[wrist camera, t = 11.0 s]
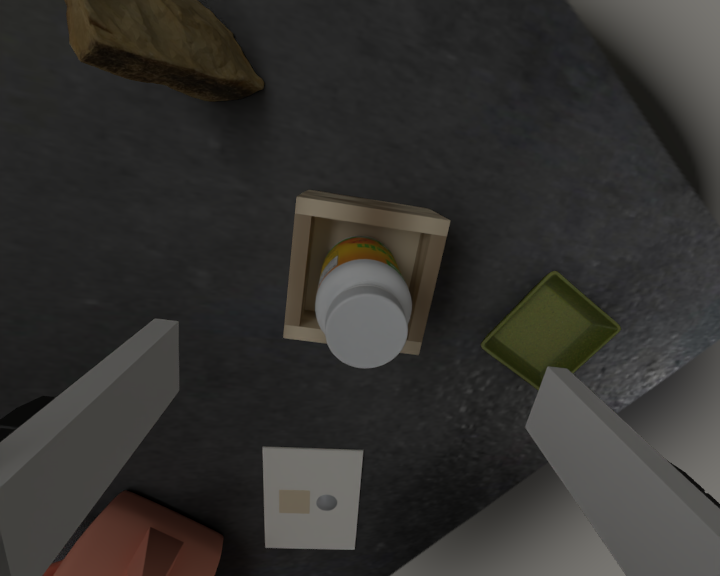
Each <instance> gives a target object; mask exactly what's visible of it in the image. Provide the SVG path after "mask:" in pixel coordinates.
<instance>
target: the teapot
mask: <svg viewBox="0 0 720 576" xmlns="http://www.w3.org/2000/svg"><path fill="white" fill-rule="evenodd" d="M223 539H224V537H223V535H221V534H220V533H218V532H216V531H214V530H212V529H210V528H208V527H206V526H204V525H202V524H200V523H198V522H196V521H194V520H192V519H190V518H187V517H185V516H183V515H181V514H179V513H177V512H175V511H173V510H171V509H168V508H166V507H164V506H162V505H160V504H157V503H155V502H153V501H151V500H149V499H146V498H144V497H142V496H139V495H137V494H135V493H132V492H130V491H123V492H121V493H120V494H119V495H118V496H117V497H115V498H114V499H113V500H112V501H111V502H110V503H109V505H108V506H107V507H106V508H105V509H104V510H103V511H102V512H101V513H100V514H99V515H98V516H97V518H96V519H95V520H94V521H93V522H92V523H91V525H90V526H89V527H88V528H87V529H86V531H85V532H84V533H83V534H82V535H81V537H80V538H79V539H78V540H77V542H76V543H75V544H74V546H73V547H72V549H71V550H70V551H69V553H68V554H67V555H66V557H65V558H64V560H61V561H58V562H55V563H52V564H51V565H50V566H49V567H48V569H47V570H46V571H45V573H44V574H43V575H42V576H214V575H215V573H216V570H217V567H218V564H219V561H220V557H221V552H222V547H223Z"/></svg>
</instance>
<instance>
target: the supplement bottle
mask: <svg viewBox="0 0 720 576" xmlns="http://www.w3.org/2000/svg"><path fill="white" fill-rule="evenodd" d="M411 311H412V300H411V295H410V292H409V289H408V286H407V284H406V282H405V280H404V278H403V276H402V274H401V272H400V270H399V267H398V265H397V263H396V261H395V258H394V256H393V255H392V253H391V252H390V250H389V249H388V248H387V247H386V246H385V245H384V244H383V243H382V242H380V241H378V240H377V239H374V238H372V237H368V236H352V237H348V238H345V239H343V240H341V241H339V242H338V243H337V244H335V245H334V246H333V247H332V248H331V249H330V251H329V252H328V253H327V255H326V257H325V259H324V262H323V266H322V270H321V275H320V280H319V285H318V290H317V295H316V302H315V313H316V318H317V321H318V324H319V326H320V328H321V330H322V331H323V333H324V334H325V337H326V341H327V344H328V346H329V348H330V350H331V352H332V353H333V354H334V355H335V356H336V357H337V358H338V359H339V360H340V361H342V362H344V363H345V364H347V365H350V366H353V367H357V368H374V367H378V366H381V365H384V364H386V363H388V362H389V361H391V360H392V359H394V358H395V357H396V356H397V355H398V354H399V353H400V352H401V350H402V349H403V347H404V345H405V343H406V339H407V335H408V323H409V320H410V316H411Z"/></svg>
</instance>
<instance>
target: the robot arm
mask: <svg viewBox="0 0 720 576" xmlns="http://www.w3.org/2000/svg"><path fill="white" fill-rule="evenodd" d="M178 392H179V321H171V320H163V319H154V320H152V321H151V322H150V323H149V324H147V325H146V326H145V327H144V328H142V329H141V330H140V331H139V332H137V333H136V334H135V335H134V336H132V337H131V338H130V339H129V340H127V341H126V342H125V343H124V344H122V345H121V346H120V347H119V348H117V349H116V350H115V351H114V352H112V353H111V354H110V355H109V356H107V357H106V358H105V359H104V360H102V361H101V362H100V363H99V364H97V365H96V366H95V367H94V368H92V369H91V370H90V371H89V372H87V373H86V374H85V375H84V376H82V377H81V378H80V379H79V380H77V381H76V382H75V383H74V384H72V385H71V386H70V387H69V388H67V389H66V390H65V391H64V392H62V393H61V394H60V395H59V396H57V397H49V396H42V397H40V398H38V399H35V400H33V401H31V402H29V403H27V404H25V405H22V406H20V407H18V408H16V409H15V410H13V411H12V412H11V413H9V414H8V415H6V416H5V417H4V418H2V419H1V420H0V576H42V575H43V574H44V573H45V571H46V570H47V569H48V567H49V566H50V565H51V563H52V562H53V561H54V559H55V558H56V557H57V555H58V554H59V552H60V551H61V550H62V548H63V547H64V546H65V544H66V543H67V542H68V540H69V539H70V538H71V536H72V535H73V534H74V532H75V531H76V529H77V528H78V527H79V525H80V524H81V523H82V521H83V520H84V519H85V517H86V516H87V515H88V513H89V512H90V511H91V509H92V508H93V507H94V505H95V504H96V502H97V501H98V500H99V498H100V497H101V496H102V494H103V493H104V492H105V490H106V489H107V488H108V486H109V485H110V484H111V482H112V481H113V479H114V478H115V477H116V475H117V474H118V473H119V471H120V470H121V469H122V467H123V466H124V465H125V463H126V462H127V461H128V459H129V458H130V457H131V455H132V454H133V452H134V451H135V450H136V448H137V447H138V446H139V444H140V443H141V442H142V440H143V439H144V438H145V436H146V435H147V434H148V432H149V431H150V429H151V428H152V427H153V425H154V424H155V423H156V421H157V420H158V419H159V417H160V416H161V415H162V413H163V412H164V411H165V409H166V408H167V407H168V405H169V404H170V402H171V401H172V400H173V398H174V397H175V396H176V394H177V393H178ZM525 428H526V430H527V431H528V433H529V434H530V435H531V437H532V438H533V440H534V441H535V443H536V444H537V446H538V447H539V449H540V450H541V452H542V453H543V454H544V456H545V457H546V459H547V460H548V462H549V463H550V465H551V466H552V468H553V469H554V471H555V472H556V474H557V475H558V476H559V478H560V479H561V481H562V482H563V484H564V485H565V487H566V488H567V489H568V491H569V492H570V494H571V495H572V497H573V498H574V500H575V501H576V503H577V504H578V506H579V507H580V509H581V510H582V512H583V513H584V515H585V516H586V517H587V519H588V520H589V522H590V523H591V525H592V526H593V528H594V529H595V531H596V532H597V534H598V535H599V537H600V538H601V539H602V541H603V542H604V544H605V545H606V546H607V548H608V549H609V551H610V552H611V554H612V556H613V557H614V558H615V560H616V561H617V563H618V564H619V566H620V567H621V569H622V570H623V572H624V573H625V575H626V576H720V504H719V503H718V502H717V501H716V500H715V499H714V498H713V497H712V496H711V495H709V494H708V493H705V492H704V491H705V490H704V489H703V488H702V487H701V486H700V485H698V484H697V483H696V482H695V481H694V480H693V479H692V478H691V477H689V476H688V475H687V474H686V473H685V472H684V471H682V470H681V469H679V468H678V467H676V466H675V465H673V464H672V463H670V462H669V461H667V460H666V459H665V458H664V457H663V456H662V455H660V454H659V453H658V452H657V451H656V450H655V449H654V448H653V447H652V446H651V445H650V444H649V443H647V442H646V441H645V440H644V439H643V438H642V437H641V436H640V435H639V434H638V433H637V432H635V431H634V430H633V429H632V428H631V427H630V426H629V425H628V424H627V423H626V422H625V421H624V420H622V419H621V418H620V417H619V416H618V415H617V414H616V413H615V412H614V411H613V410H612V409H610V408H609V407H608V406H607V405H606V404H605V403H604V402H603V401H602V400H601V399H600V398H599V397H597V396H596V395H595V394H594V393H593V392H592V391H591V390H590V389H589V388H588V387H587V386H585V385H584V384H583V383H582V382H581V381H580V380H579V379H578V378H577V377H576V376H575V375H574V374H572V373H571V372H570V371H569V370H568V369H566V368H558V367H549V366H548V367H547V369H546V372H545V375H544V377H543V380H542V383H541V385H540V388H539V391H538V393H537V396H536V399H535V402H534V404H533V407H532V410H531V412H530V415H529V418H528V420H527V423H526V426H525Z"/></svg>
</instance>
